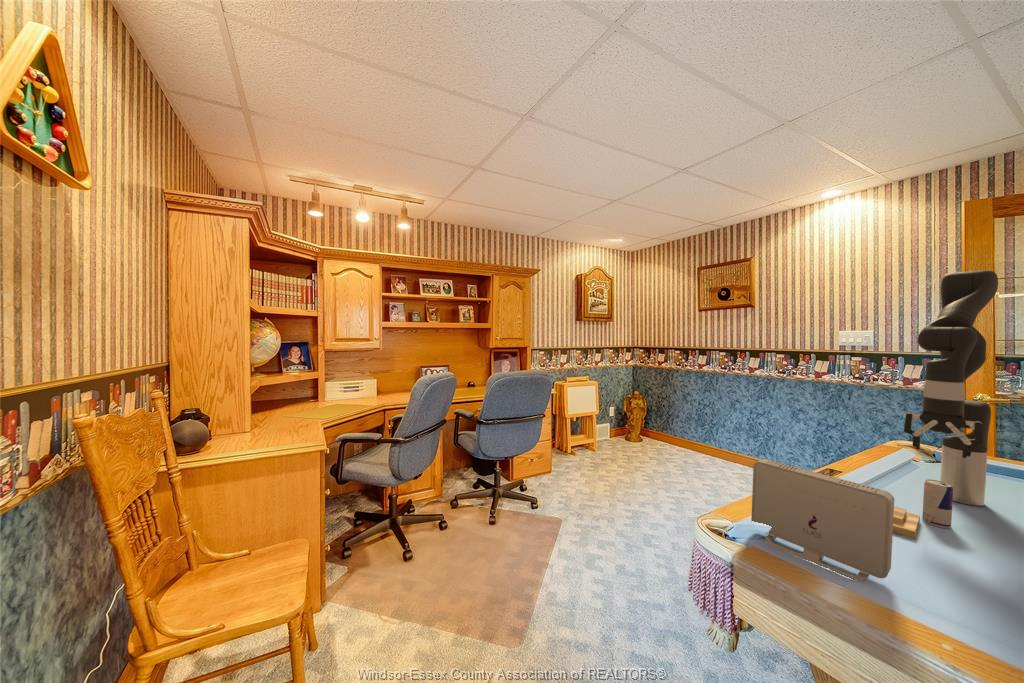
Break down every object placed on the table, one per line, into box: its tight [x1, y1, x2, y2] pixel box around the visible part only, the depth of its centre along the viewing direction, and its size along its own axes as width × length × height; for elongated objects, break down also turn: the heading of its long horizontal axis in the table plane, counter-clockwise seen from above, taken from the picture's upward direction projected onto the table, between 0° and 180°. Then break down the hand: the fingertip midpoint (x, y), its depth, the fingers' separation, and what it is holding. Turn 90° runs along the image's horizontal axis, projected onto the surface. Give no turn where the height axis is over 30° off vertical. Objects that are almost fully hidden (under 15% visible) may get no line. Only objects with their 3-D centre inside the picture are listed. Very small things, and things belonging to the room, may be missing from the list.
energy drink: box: [922, 478, 954, 530], centre depth 102 cm, size 5×5×12 cm
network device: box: [750, 458, 895, 582], centre depth 87 cm, size 26×9×20 cm, turn 36°
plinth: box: [893, 506, 921, 540], centre depth 104 cm, size 14×14×4 cm
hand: (940, 453), depth 102 cm, fingers open, 8 cm apart
